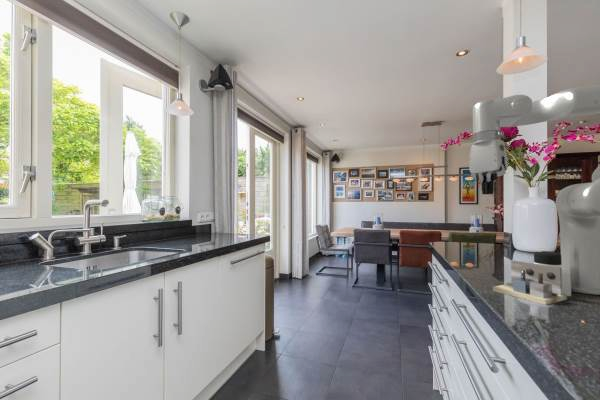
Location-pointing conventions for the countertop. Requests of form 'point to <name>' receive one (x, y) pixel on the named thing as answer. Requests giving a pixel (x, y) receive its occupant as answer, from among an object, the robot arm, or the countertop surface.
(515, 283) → the sliding pin
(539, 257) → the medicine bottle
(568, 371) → the countertop surface
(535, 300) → the board
